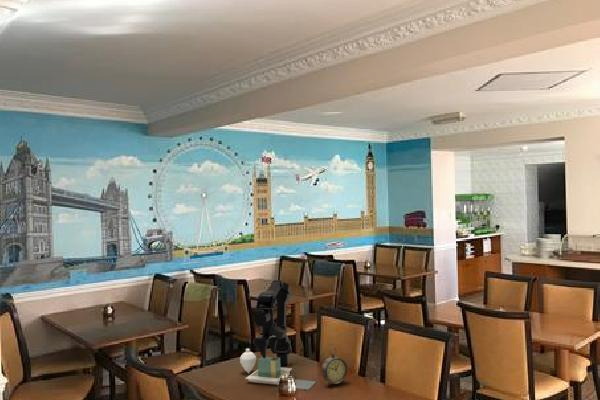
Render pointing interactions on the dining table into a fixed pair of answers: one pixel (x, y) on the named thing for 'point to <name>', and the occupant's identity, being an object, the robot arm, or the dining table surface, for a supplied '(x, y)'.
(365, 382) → the dining table surface
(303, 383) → the mat
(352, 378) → the dining table surface
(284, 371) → the white rectangular tray
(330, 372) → the alarm clock
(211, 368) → the dining table surface
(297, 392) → the dining table surface
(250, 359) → the spinning top
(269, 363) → the tea tin
